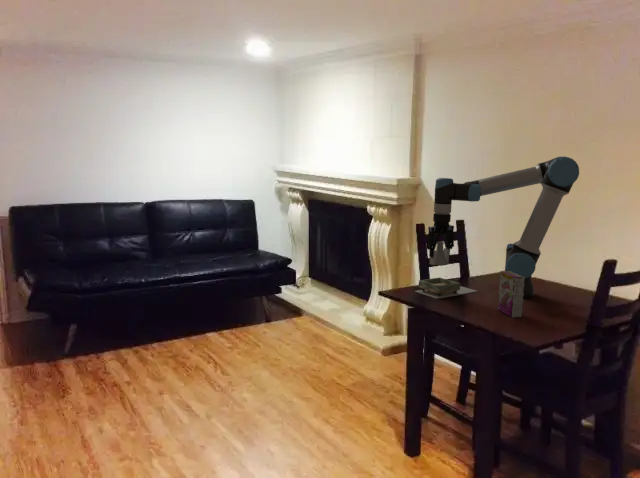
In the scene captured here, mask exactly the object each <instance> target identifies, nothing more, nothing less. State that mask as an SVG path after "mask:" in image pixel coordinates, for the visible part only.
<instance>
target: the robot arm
mask: <svg viewBox="0 0 640 478" xmlns="http://www.w3.org/2000/svg"><path fill="white" fill-rule="evenodd" d="M579 176H580V167H579V165H578V163H577V161H576V160H574V159H573V158H571V157H568V156H557V157H555V158H552V159H550V160H549V159H548V160H546V161H543V162H539V163H538V164H537V165H536V166H532V167H528V168H525V169H524V168H523V169H520V170H515V171H511V172H506V173H502V174H498V175H494V176H490V177H485V178H480V179H476V180H472V181H466V182H463V183H458V182H457V183H456V182H454V179H453V178H449V177H438V178H437V179H436V180H435V185H434V186H435V187H434V202H433V217H432V221H433V222H434V223H433V226H427V227H428V232H427V233H428V234H427V240H426V246H425V248H426V249H427V250H429V254H428V255H429V265H431V266H436V265H435V259H436V248H437V242H439V239H440V237H441V235H442V239H443V242H444V244H443V245H444V247H445V248H444V247H443V251H444V255H445V258H446V261H447V264H449V262H450V261H449V259H450V255H451V250H452V249H453V248H454V246H455V237H454V231H455V230H454V229H455V226H454V225H452V224H450V222H451V218H452V214H451V213H452V203H453V201H461V202H471V203H472V202H480V200H481V197H483V196H488V195H492V194H496V193H497V194H498V193H501V192H506V191H510V190H511V191H512V190H515V189H520V188H525V187H529V186H533V185H538V184H540V185H541V187H542V188H541V192H540V194H539V196H538V198H537V201H536V203H535V205H534V207H533V210H532V212H531V214H530V217H529V219H528V221H527V222H526V225H525V227H524V230H523V231H522V234H521V237H520V239H519V240H517V241H515V242H514V243H508V244H507V245H506V248H505V265H504V271H511V272H514V273H516V274H518V275H521V276H523V277H525V283H524V297H523V299H524V298H525V299H526V298H531V297H535V288H534V285H533V284H534V283H533V279H532V275H533V274H534V272H535V271H536V267H537V266H536V265H537V263H538V260H539V258H540V256H541V250H540V248H541V245H542V243H543V241H544V239H545V236H546V234H547V233H548V230H549V227H550V226H551V223H552V222H553V220H554V217H555V215H556V212H557V210H558V209H559V206H560V204H561V202H562V200H563V198H564V197H565V196H566V195H568V194H570V191H571V190H572V187H573V185H574V183H575V182H576V181H577V180H578V178H579Z"/></svg>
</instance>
